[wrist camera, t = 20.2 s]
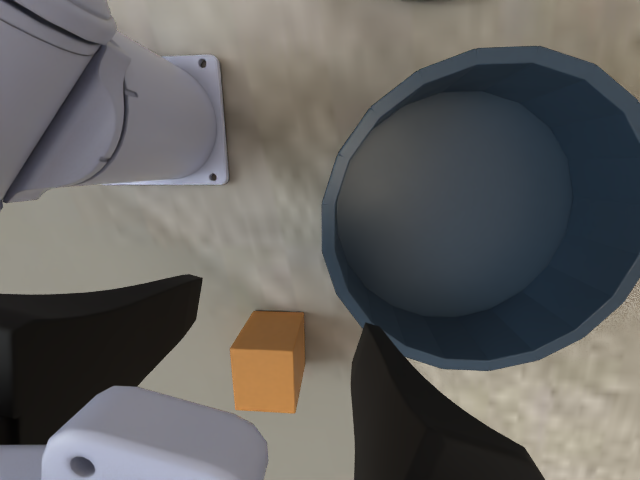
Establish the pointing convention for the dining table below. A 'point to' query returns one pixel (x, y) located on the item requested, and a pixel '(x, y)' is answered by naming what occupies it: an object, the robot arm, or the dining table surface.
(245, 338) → the wooden brick
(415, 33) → the dining table surface
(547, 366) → the dining table surface
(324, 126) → the dining table surface
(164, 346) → the robot arm
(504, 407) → the dining table surface
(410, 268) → the pot
